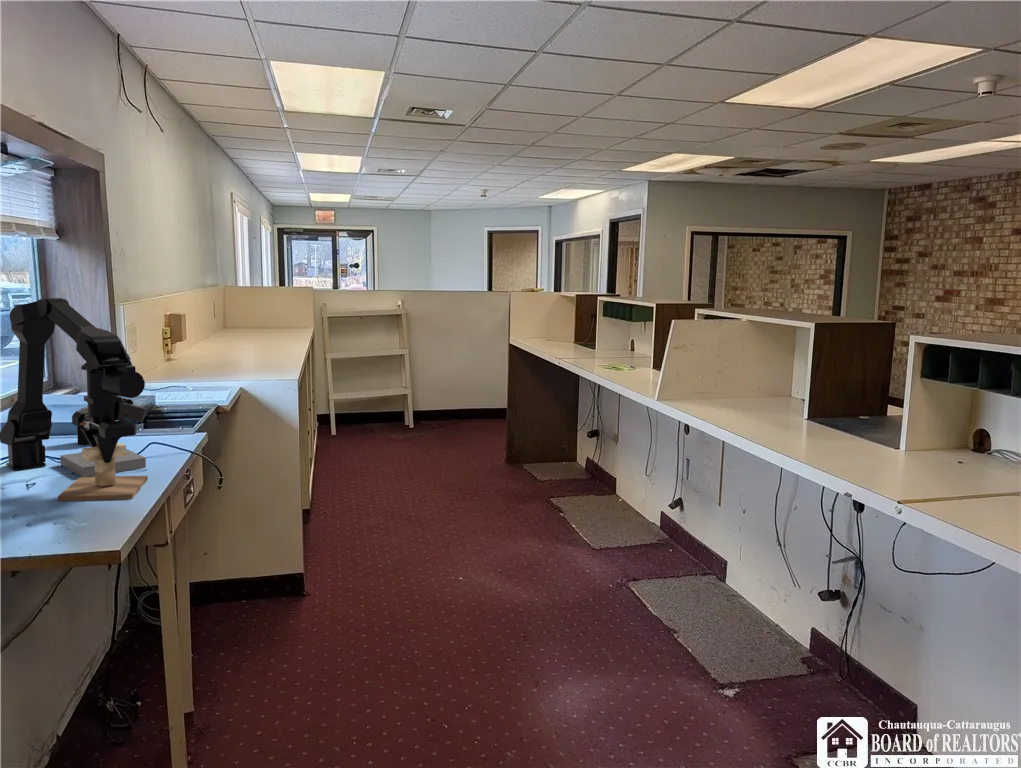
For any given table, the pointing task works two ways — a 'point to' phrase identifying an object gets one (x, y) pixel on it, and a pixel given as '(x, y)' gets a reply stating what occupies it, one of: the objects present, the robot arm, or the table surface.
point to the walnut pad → (103, 489)
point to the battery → (80, 435)
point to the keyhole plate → (88, 468)
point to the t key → (103, 463)
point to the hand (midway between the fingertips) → (104, 461)
